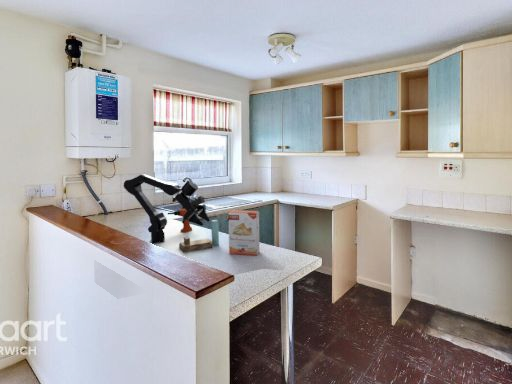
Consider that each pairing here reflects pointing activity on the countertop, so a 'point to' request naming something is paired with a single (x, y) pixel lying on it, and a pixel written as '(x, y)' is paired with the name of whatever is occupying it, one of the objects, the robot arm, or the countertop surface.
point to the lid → (194, 242)
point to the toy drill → (185, 223)
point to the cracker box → (243, 232)
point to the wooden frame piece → (195, 247)
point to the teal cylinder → (215, 232)
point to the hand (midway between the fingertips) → (206, 223)
